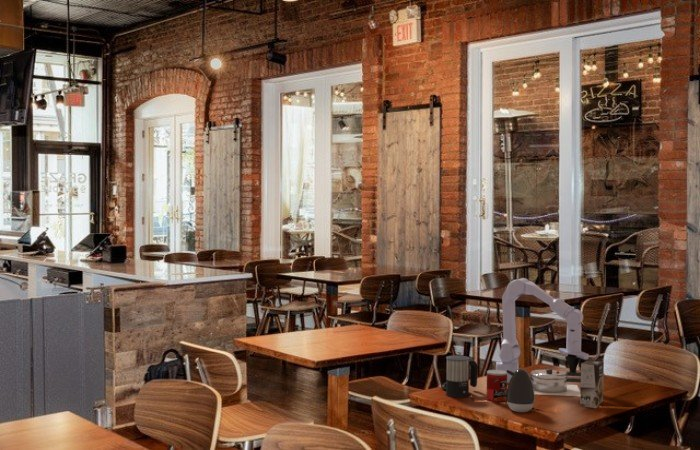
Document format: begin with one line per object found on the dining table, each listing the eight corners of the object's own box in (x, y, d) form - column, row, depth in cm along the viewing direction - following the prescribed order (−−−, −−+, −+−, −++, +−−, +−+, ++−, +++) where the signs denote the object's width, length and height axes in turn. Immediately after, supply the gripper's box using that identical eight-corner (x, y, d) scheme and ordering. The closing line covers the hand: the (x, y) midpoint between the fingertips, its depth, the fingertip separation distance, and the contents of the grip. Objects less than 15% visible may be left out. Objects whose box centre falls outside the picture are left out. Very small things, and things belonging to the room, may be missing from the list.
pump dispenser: (508, 405, 306) (509, 365, 305) (536, 408, 302) (537, 367, 301) (502, 412, 296) (503, 370, 296) (531, 415, 293) (532, 372, 292)
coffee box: (596, 408, 303) (597, 365, 303) (579, 406, 307) (580, 363, 306) (603, 403, 311) (604, 361, 311) (586, 401, 315) (587, 359, 314)
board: (530, 396, 321) (530, 393, 321) (526, 385, 341) (527, 382, 341) (583, 399, 318) (583, 396, 318) (576, 387, 338) (576, 385, 338)
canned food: (494, 403, 309) (495, 374, 309) (482, 399, 316) (482, 370, 316) (511, 401, 312) (511, 372, 312) (498, 397, 320) (498, 368, 319)
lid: (532, 378, 323) (532, 372, 323) (529, 370, 338) (529, 365, 338) (591, 380, 321) (591, 374, 320) (585, 373, 335) (585, 367, 335)
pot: (524, 391, 324) (525, 378, 324) (522, 384, 338) (523, 370, 338) (590, 395, 321) (590, 380, 320) (585, 387, 334) (585, 373, 334)
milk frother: (459, 399, 315) (460, 360, 315) (426, 392, 326) (427, 354, 326) (480, 393, 326) (481, 355, 325) (448, 386, 337) (449, 350, 336)
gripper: (553, 338, 335) (552, 371, 335) (580, 343, 322) (579, 378, 323) (566, 336, 338) (565, 369, 339) (593, 342, 326) (592, 376, 326)
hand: (572, 374), depth 331 cm, fingers closed, pressing on lid
